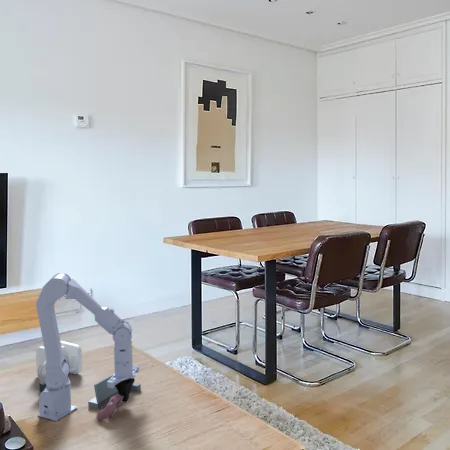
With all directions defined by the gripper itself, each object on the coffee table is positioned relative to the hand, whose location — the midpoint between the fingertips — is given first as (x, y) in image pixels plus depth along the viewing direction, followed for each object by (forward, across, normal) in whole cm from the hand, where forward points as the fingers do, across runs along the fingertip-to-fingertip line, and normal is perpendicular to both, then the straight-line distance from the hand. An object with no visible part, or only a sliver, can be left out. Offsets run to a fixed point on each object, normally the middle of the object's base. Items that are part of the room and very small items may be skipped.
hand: (124, 400), depth 160 cm
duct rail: (+2, +4, +6) cm, 8 cm away
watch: (+2, -1, +31) cm, 31 cm away
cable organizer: (+2, +11, +38) cm, 40 cm away
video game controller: (+2, -6, +1) cm, 6 cm away
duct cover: (-3, +4, +7) cm, 8 cm away
